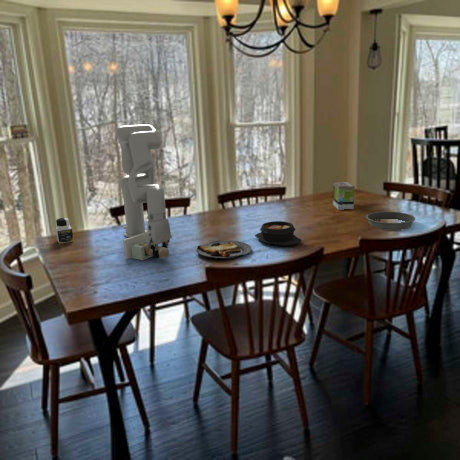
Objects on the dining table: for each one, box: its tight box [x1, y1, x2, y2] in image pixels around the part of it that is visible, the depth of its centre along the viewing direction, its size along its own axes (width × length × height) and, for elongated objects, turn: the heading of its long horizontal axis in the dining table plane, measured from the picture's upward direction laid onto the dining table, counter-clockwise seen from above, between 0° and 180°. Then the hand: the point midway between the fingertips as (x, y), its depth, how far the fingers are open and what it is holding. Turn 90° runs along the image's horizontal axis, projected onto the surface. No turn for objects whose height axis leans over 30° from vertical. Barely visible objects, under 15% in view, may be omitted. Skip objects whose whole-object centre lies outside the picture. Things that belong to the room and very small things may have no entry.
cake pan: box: [365, 211, 416, 231], centre depth 238 cm, size 25×25×4 cm
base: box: [122, 232, 148, 260], centre depth 206 cm, size 2×14×9 cm, turn 143°
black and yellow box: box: [55, 217, 74, 244], centre depth 231 cm, size 7×7×12 cm
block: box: [131, 239, 155, 261], centre depth 203 cm, size 6×10×6 cm, turn 143°
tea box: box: [332, 181, 356, 211], centre depth 278 cm, size 15×10×15 cm, turn 179°
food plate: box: [196, 239, 252, 259], centre depth 206 cm, size 25×23×4 cm
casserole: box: [254, 220, 302, 247], centre depth 217 cm, size 25×19×8 cm
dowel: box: [140, 243, 170, 260], centre depth 200 cm, size 14×5×5 cm, turn 53°
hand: (160, 255), depth 198 cm, fingers closed on dowel, 4 cm apart
